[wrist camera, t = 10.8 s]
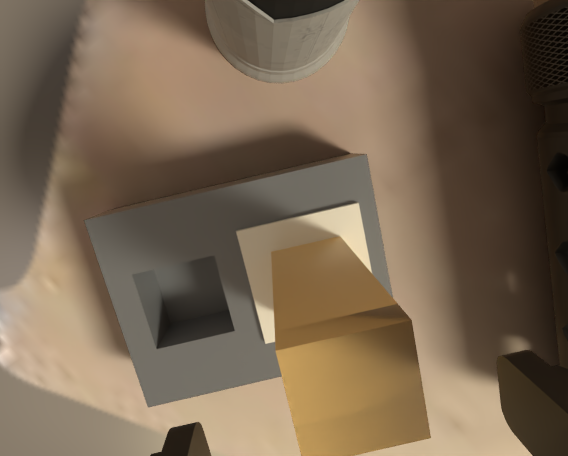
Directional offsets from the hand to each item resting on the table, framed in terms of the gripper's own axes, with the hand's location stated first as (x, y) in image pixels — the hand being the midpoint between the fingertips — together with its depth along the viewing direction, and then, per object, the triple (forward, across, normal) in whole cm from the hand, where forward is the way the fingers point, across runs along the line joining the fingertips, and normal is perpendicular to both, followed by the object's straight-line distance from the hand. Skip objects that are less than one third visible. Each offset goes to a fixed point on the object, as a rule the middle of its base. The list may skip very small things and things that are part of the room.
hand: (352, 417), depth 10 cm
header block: (+16, +3, 0) cm, 17 cm away
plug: (+12, 0, 0) cm, 12 cm away
